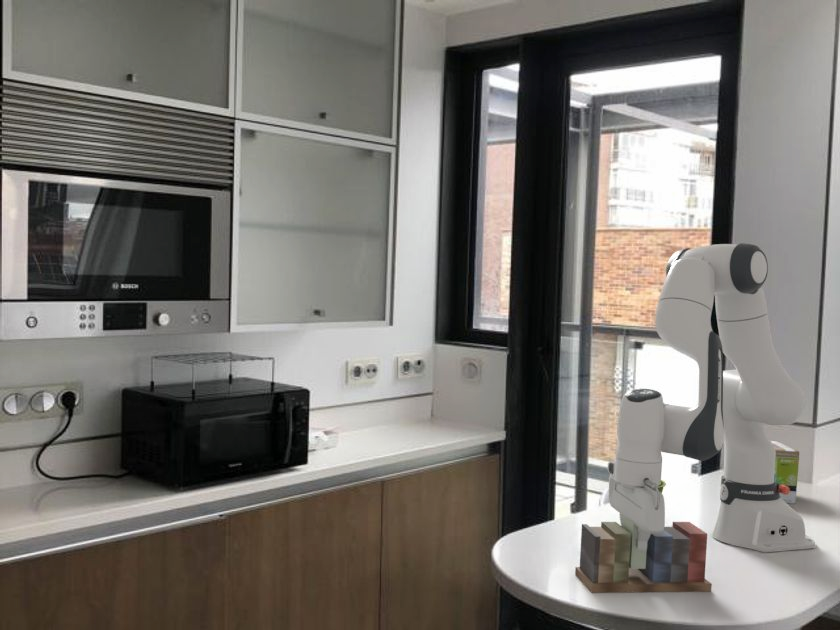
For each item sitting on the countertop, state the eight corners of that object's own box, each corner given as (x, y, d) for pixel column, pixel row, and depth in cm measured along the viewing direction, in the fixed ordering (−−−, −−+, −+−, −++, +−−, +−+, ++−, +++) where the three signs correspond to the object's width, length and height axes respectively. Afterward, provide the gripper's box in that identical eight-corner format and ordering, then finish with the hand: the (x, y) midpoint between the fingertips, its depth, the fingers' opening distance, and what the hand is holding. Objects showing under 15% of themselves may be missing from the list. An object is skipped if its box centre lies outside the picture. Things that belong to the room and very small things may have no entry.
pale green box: (633, 558, 177) (636, 514, 177) (645, 568, 171) (648, 522, 171) (619, 558, 177) (622, 514, 176) (630, 568, 171) (633, 522, 171)
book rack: (688, 573, 181) (691, 520, 181) (711, 591, 171) (714, 535, 171) (575, 574, 178) (578, 520, 177) (591, 592, 168) (594, 535, 167)
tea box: (797, 504, 242) (800, 450, 241) (760, 502, 242) (763, 449, 241) (775, 490, 257) (779, 439, 256) (741, 489, 257) (744, 438, 256)
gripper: (675, 486, 163) (671, 560, 164) (633, 461, 184) (630, 527, 184) (643, 486, 163) (638, 560, 163) (604, 461, 183) (600, 527, 184)
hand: (633, 542), depth 174 cm, fingers closed on pale green box, 6 cm apart
